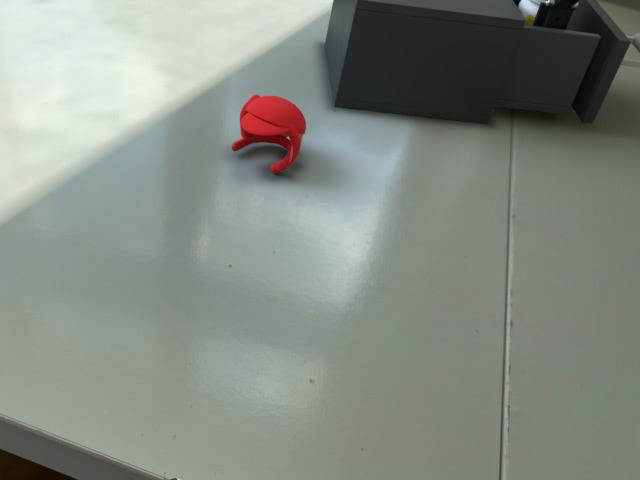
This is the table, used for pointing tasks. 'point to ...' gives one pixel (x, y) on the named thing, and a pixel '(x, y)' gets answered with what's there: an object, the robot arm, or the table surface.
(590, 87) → the drawer
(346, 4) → the cabinet
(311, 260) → the table surface
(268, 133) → the red domed clip
